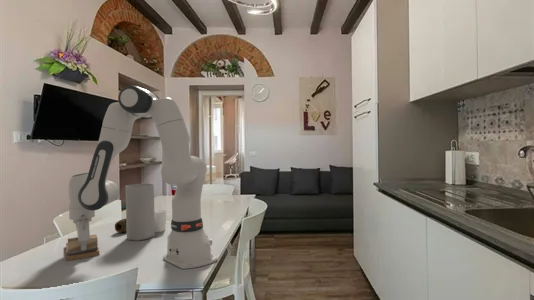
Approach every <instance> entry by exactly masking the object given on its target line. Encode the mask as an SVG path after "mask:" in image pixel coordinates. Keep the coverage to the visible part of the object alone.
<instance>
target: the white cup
mask: <svg viewBox="0 0 534 300" xmlns="http://www.w3.org/2000/svg"><path fill="white" fill-rule="evenodd" d="M154 218H155V233H162V232H164V231H166V227H167V226H166V224H167V223H166V222H167V210H165V209H154Z"/></svg>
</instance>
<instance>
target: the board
mask: <svg viewBox="0 0 534 300" xmlns="http://www.w3.org/2000/svg"><path fill="white" fill-rule="evenodd" d="M65 248H66V262H70V261H73V260H79V259H83V258H84V259H85V258H89V257H95V256H100V249H99V248H98V250H92V251H87V252H81V253H75V254H70V255H68V242H66V243H65Z"/></svg>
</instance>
